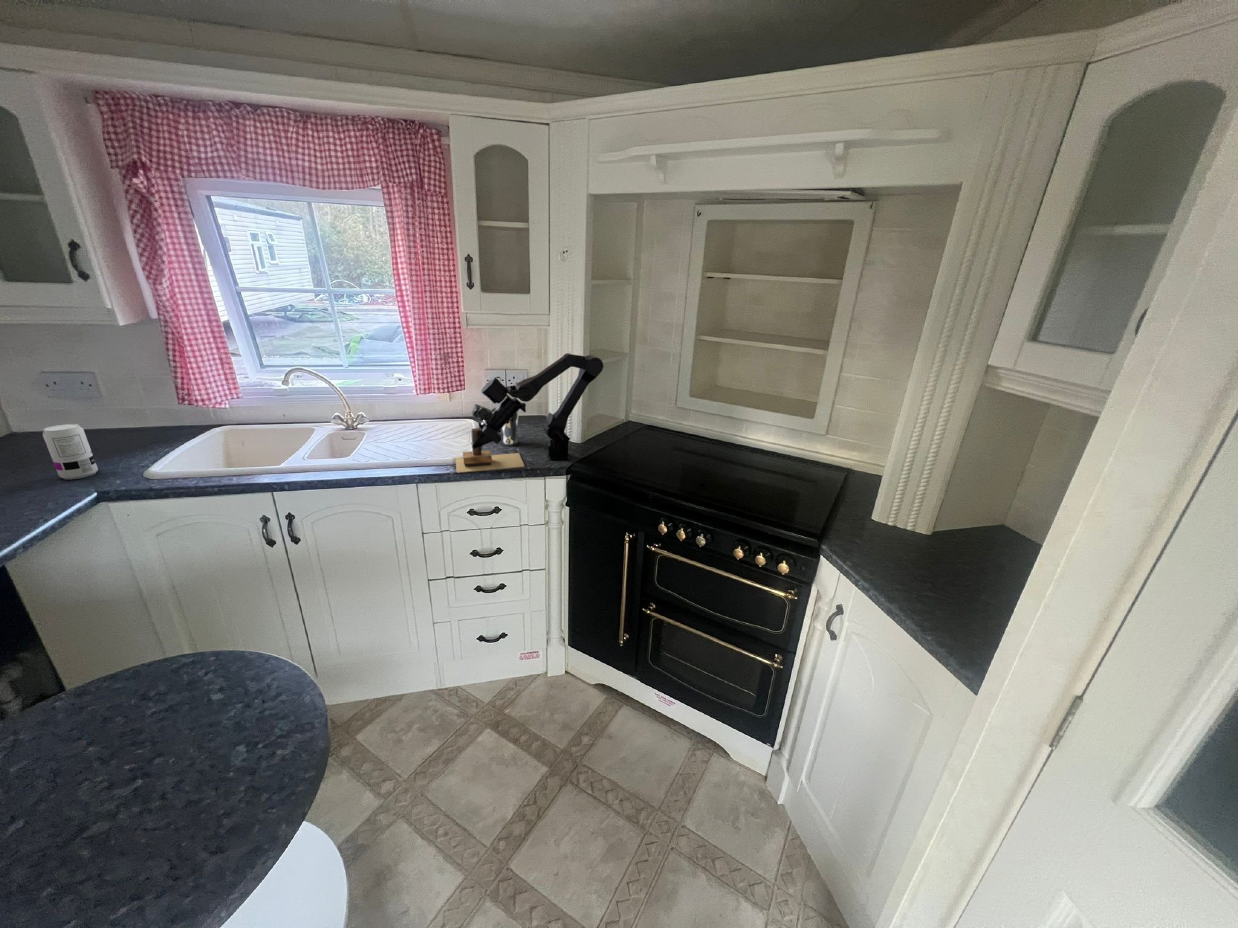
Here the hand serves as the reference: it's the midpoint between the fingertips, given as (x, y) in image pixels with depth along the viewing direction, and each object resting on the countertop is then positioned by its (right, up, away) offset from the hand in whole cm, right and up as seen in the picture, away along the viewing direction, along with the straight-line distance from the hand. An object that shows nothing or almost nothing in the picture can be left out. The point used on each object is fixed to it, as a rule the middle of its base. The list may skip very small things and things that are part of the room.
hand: (472, 446), depth 165 cm
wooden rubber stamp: (+1, -6, +3) cm, 6 cm away
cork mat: (+5, -6, +4) cm, 8 cm away
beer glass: (+7, +2, +25) cm, 26 cm away
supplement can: (-114, -9, -17) cm, 115 cm away
